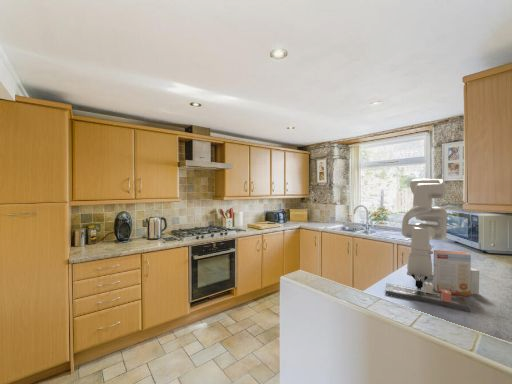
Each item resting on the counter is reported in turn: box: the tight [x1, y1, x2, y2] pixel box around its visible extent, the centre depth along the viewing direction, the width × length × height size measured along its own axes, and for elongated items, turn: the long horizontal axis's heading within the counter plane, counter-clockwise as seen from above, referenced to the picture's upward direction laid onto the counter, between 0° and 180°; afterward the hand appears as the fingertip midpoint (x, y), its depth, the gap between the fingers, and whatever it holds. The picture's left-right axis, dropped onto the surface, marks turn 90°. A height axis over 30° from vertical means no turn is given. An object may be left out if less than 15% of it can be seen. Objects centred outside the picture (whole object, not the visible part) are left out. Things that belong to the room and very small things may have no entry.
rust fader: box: [441, 289, 452, 303], centre depth 108 cm, size 4×3×4 cm
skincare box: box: [470, 267, 480, 295], centre depth 124 cm, size 6×4×12 cm
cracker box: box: [432, 249, 472, 297], centre depth 122 cm, size 14×6×21 cm, turn 71°
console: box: [385, 283, 471, 313], centre depth 115 cm, size 11×32×2 cm, turn 60°
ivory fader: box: [423, 281, 434, 294], centre depth 117 cm, size 4×3×4 cm
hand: (419, 288), depth 119 cm, fingers closed
